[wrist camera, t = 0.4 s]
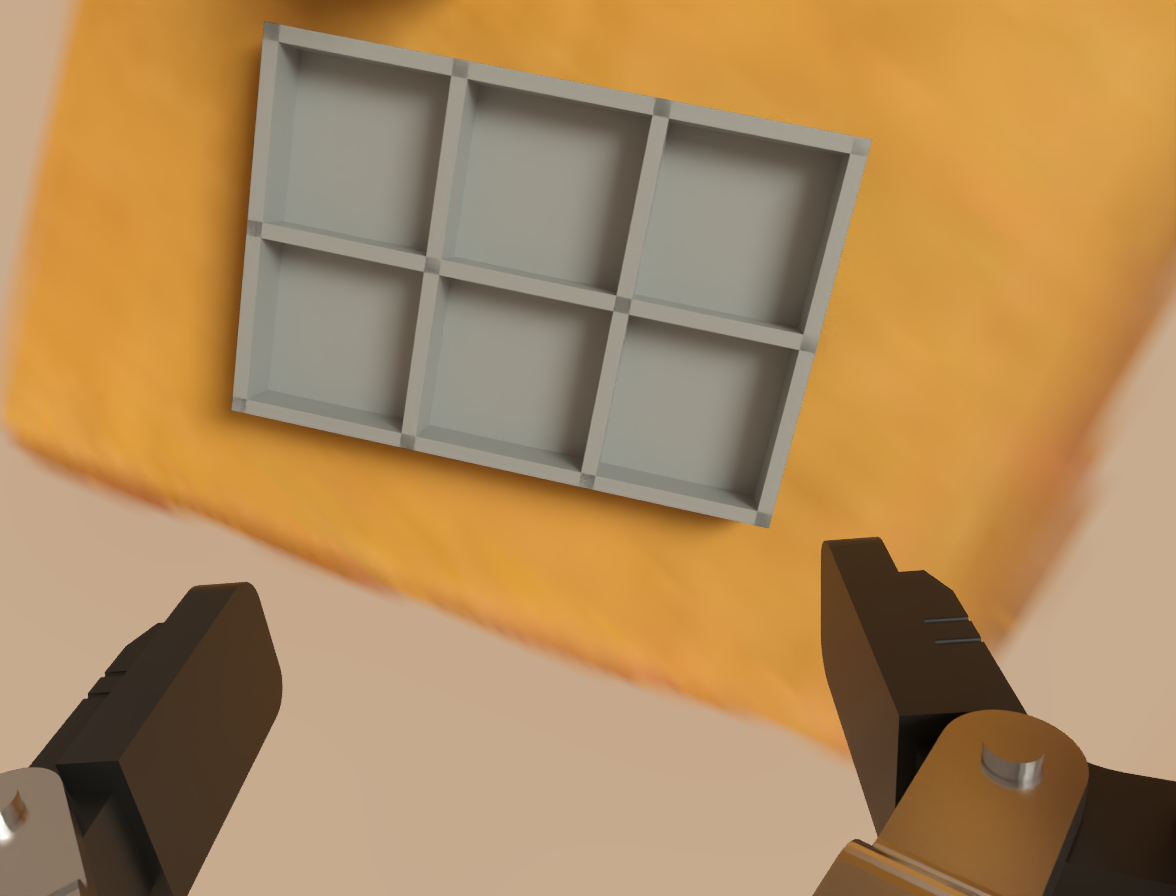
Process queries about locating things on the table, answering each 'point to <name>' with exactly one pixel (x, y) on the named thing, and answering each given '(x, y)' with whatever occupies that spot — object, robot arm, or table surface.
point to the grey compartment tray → (536, 271)
